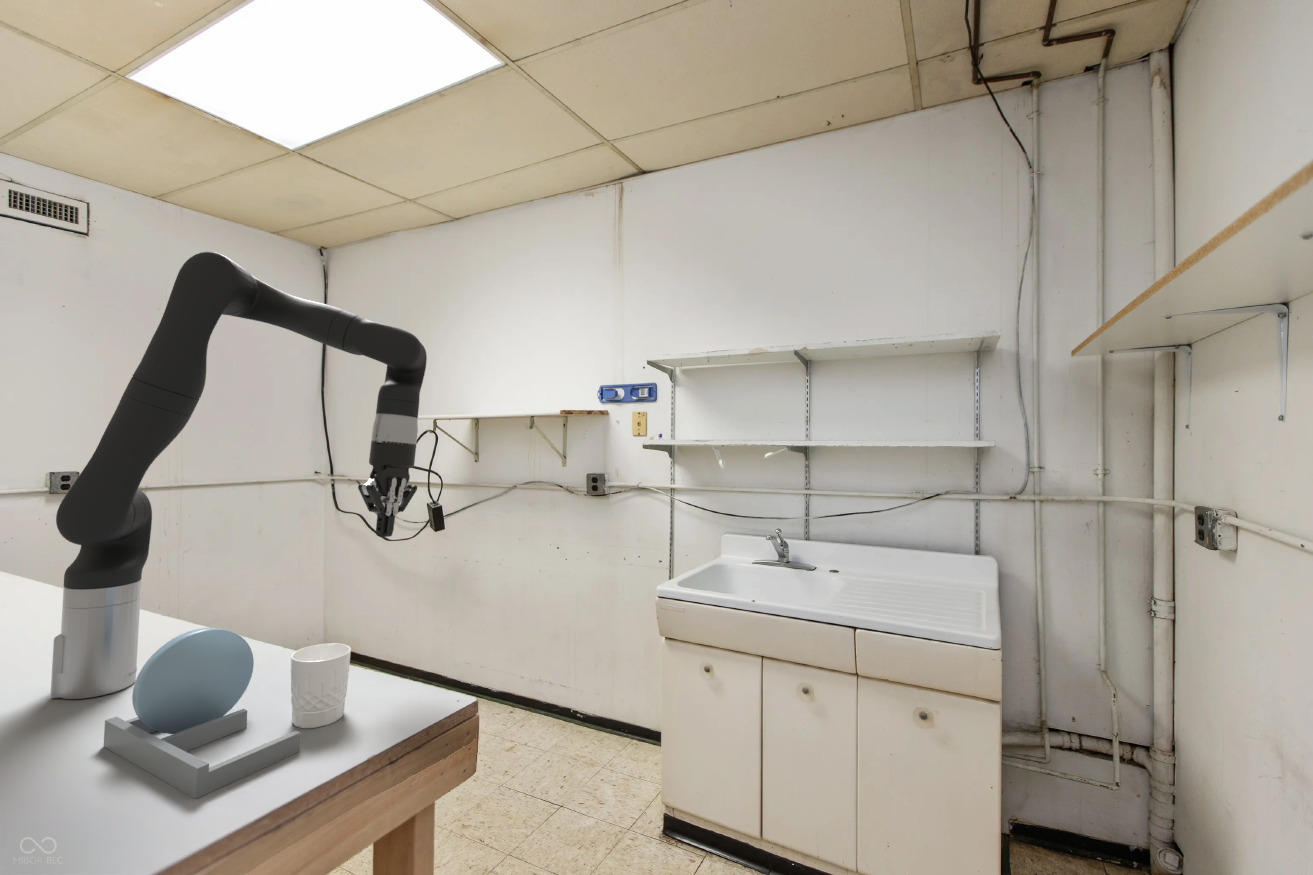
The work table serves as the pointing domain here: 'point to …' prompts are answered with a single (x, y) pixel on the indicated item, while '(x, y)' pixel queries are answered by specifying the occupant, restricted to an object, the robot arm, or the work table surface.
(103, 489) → the robot arm
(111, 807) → the work table surface
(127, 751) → the dish rack
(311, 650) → the white cup
